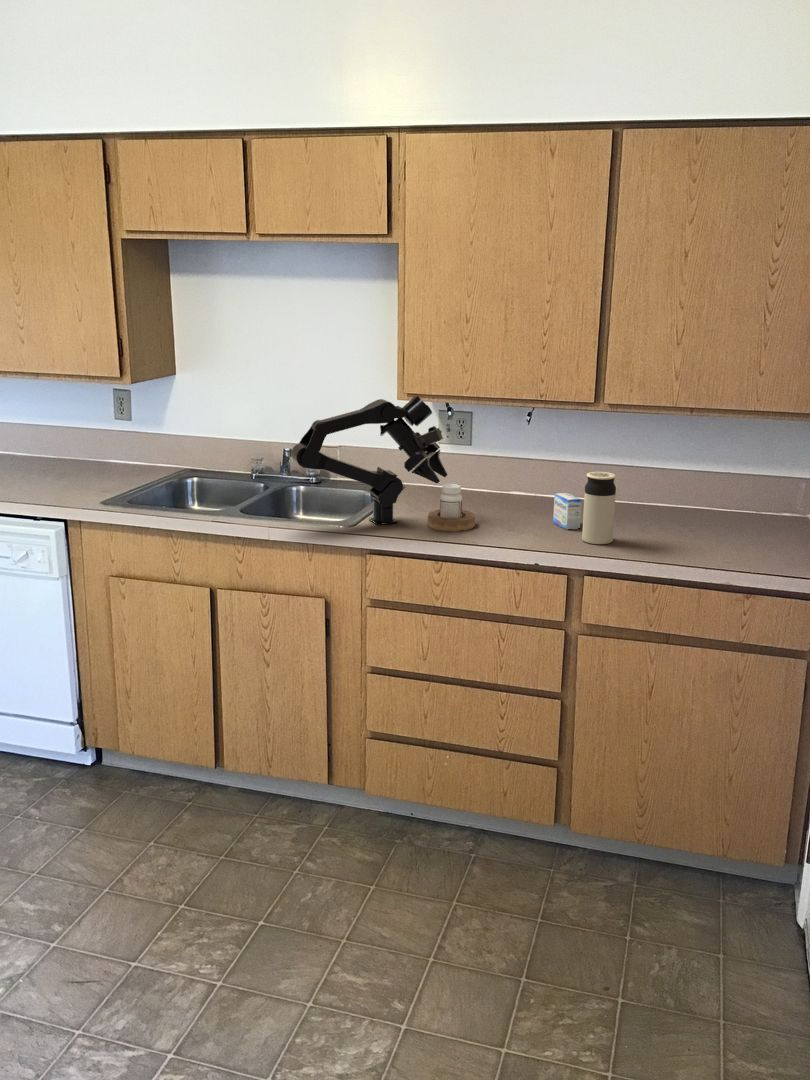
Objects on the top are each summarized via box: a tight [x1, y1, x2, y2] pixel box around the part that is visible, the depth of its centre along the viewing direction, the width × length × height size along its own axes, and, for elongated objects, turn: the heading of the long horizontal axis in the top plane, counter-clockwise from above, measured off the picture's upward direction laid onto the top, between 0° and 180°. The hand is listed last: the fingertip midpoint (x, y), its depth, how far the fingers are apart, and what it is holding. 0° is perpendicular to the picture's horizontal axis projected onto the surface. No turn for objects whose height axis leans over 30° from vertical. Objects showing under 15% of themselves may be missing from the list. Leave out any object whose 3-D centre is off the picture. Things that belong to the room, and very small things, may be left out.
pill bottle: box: [439, 483, 463, 518], centre depth 280 cm, size 6×6×11 cm
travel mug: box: [581, 471, 617, 545], centre depth 264 cm, size 8×8×18 cm
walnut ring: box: [427, 509, 476, 532], centre depth 281 cm, size 13×13×3 cm
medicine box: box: [552, 492, 583, 530], centre depth 279 cm, size 8×4×9 cm, turn 21°
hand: (442, 479), depth 278 cm, fingers open, 9 cm apart
